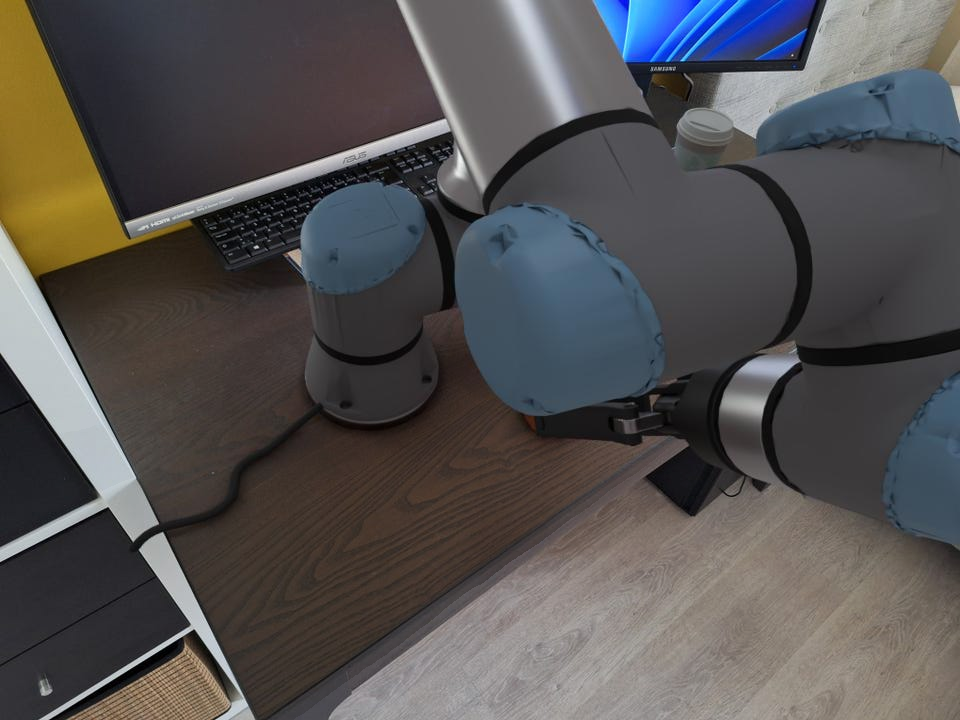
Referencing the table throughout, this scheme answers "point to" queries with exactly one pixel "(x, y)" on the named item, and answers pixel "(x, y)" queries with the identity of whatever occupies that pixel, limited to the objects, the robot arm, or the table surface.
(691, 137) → the coffee cup
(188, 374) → the table surface
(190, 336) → the table surface
